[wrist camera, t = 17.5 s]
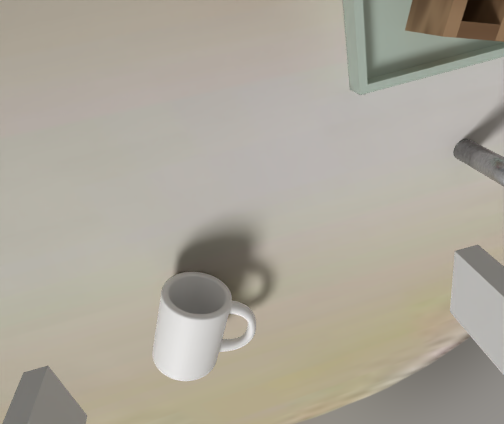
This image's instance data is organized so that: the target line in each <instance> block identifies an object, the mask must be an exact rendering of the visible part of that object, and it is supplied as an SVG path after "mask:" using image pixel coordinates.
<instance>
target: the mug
mask: <svg viewBox="0 0 504 424" xmlns="http://www.w3.org/2000/svg"><path fill="white" fill-rule="evenodd" d="M230 313H231V314H236V315H239V316H242V317H244V318H245V319H246V320H247V321H248V327H247V330H246V332H245V333H244V334H243V335H242V336H241V337H238V338H233V339H222V338H223V334H224V330H225V326H226V322H227V318H228V315H229V314H230ZM255 330H256V320H255V316H254V313H253V311H252V310H251V309H250V308H249V307H248V306H247V305H245V304H243V303H241V302H238V301H233V300H232V296H231V292H230V290H229V289H228V287H227V286H226V285H225V284H224V283H223V282H222V281H221V280H219V279H218V278H216V277H214V276H212V275H209V274H206V273H201V272H184V273H180V274H177V275H174V276H173V277H171V278H170V279H168V280H167V281H166V282H165V284H164V285H163V287H162V291H161V298H160V304H159V311H158V318H157V325H156V331H155V338H154V345H153V360H154V363H155V365H156V366H157V368H158V369H159V370H160V371H161V372H162V373H163V374H164V375H166V376H168V377H170V378H172V379H175V380H180V381H192V380H196V379H199V378H202V377H204V376H205V375H207V374H208V373H209V372H210V371H211V370H212V369H213V367H214V366H215V364H216V361H217V357H218V353H219V352H222V351H231V350H235V349H238V348H241V347H243V346H245V345H246V344H247V343H249V342H250V341H251V339H252V338H253V336H254V334H255Z"/></svg>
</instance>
